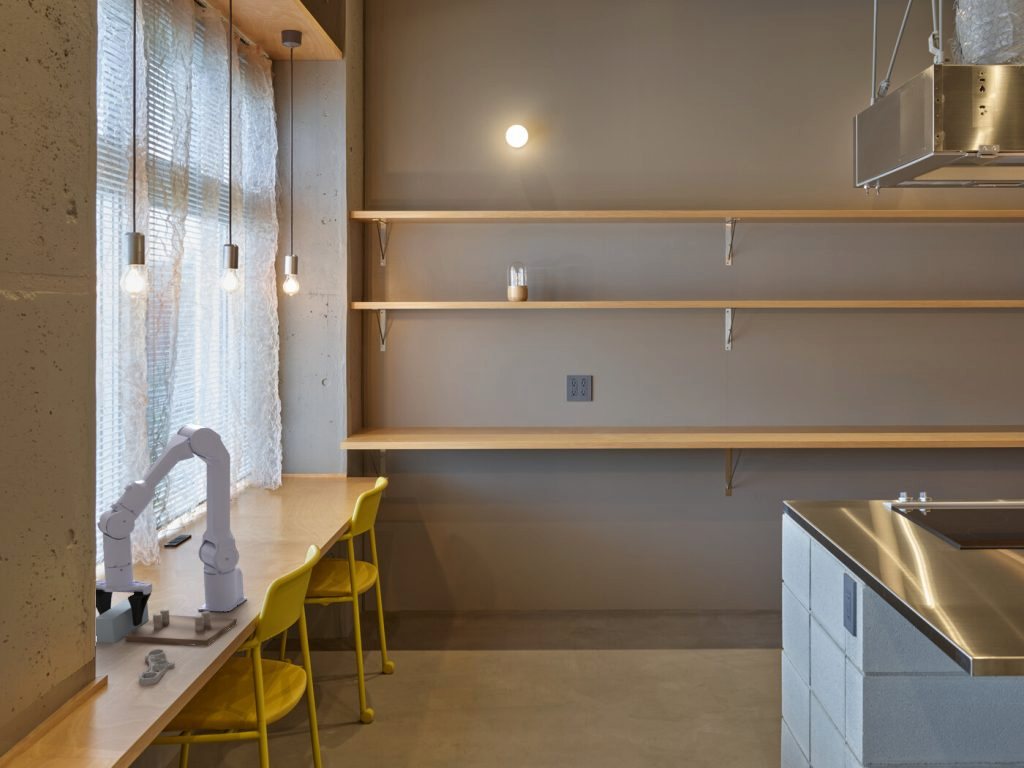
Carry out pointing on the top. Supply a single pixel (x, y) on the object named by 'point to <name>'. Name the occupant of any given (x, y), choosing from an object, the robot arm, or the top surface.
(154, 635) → the peg stand
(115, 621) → the pale blue rectangular block
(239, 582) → the robot arm
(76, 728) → the top surface
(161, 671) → the bracket
